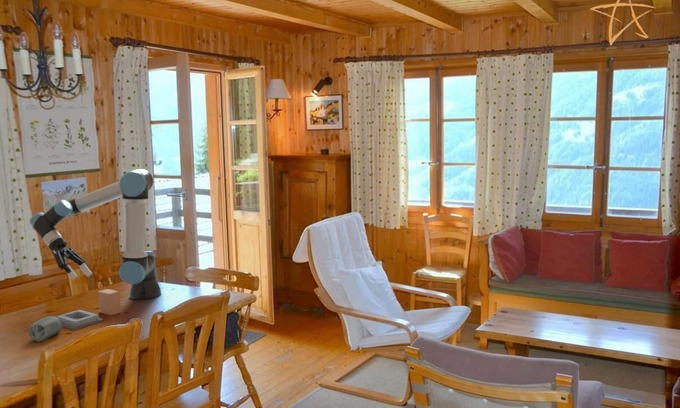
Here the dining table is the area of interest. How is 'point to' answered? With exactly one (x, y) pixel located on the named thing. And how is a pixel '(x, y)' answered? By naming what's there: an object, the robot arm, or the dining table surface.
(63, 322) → the base
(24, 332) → the dining table surface
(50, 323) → the grey faceted cylinder
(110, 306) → the key block
